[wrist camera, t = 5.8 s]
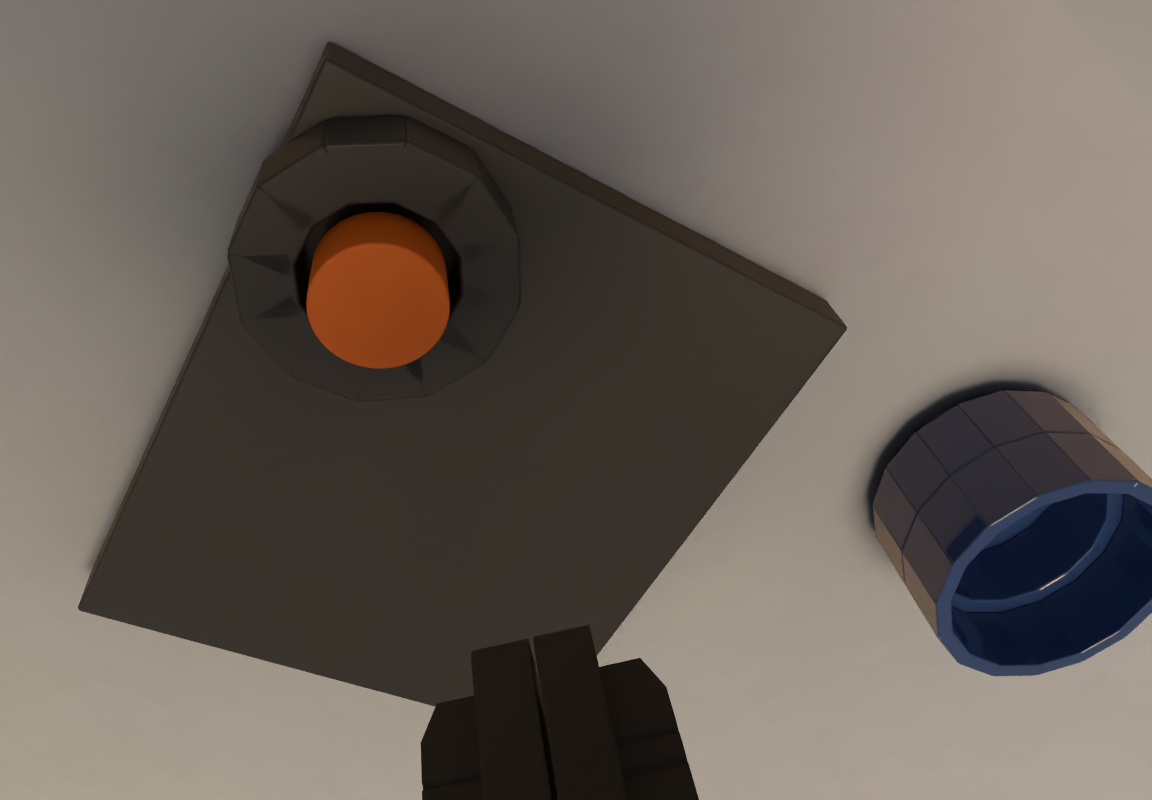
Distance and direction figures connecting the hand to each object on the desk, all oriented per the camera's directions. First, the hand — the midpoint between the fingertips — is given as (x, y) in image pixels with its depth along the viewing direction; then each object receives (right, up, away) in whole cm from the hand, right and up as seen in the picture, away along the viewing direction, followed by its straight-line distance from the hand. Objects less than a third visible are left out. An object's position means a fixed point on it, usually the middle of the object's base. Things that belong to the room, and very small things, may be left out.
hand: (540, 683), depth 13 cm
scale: (-3, +3, +13) cm, 13 cm away
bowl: (+12, +1, +16) cm, 20 cm away
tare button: (-3, +6, +7) cm, 10 cm away
